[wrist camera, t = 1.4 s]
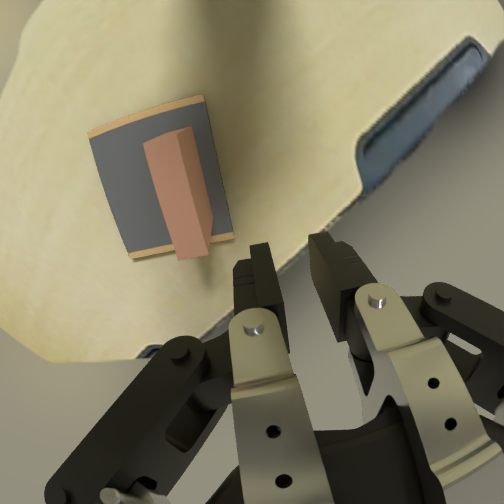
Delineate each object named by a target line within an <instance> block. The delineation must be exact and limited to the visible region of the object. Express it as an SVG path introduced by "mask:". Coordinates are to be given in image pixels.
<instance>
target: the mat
mask: <svg viewBox="0 0 504 504" xmlns="http://www.w3.org/2000/svg"><path fill="white" fill-rule="evenodd" d="M191 126H192V129H193V133H194V138H195V142H196V147H197V151H198V155H199V160H200V164H201V168H202V172H203V177H204V181H205V185H206V189H207V193H208V197H209V201H210V205H211V210H212V214H213V223H212V231H211V238H210V243H213V242H218V241H223V240H229V239H234V233H233V228H232V224H231V219H230V215H229V210H228V206H227V201H226V197H225V192H224V188H223V183H222V179H221V174H220V170H219V165H218V160H217V156H216V151H215V146H214V142H213V137H212V132H211V128H210V123H209V118H208V113H207V108H206V104H205V99H204V94H200V95H196V96H192V97H188V98H184V99H180V100H177V101H173V102H169V103H166V104H163V105H159V106H156V107H153V108H150V109H147V110H144V111H141V112H138V113H135V114H132V115H129V116H126V117H124V118H121V119H118V120H116V121H113V122H110V123H108V124H106V125H103V126H101V127H98V128H96V129H94V130H91V131H89V132H87V134H88V137H89V141H90V144H91V148H92V152H93V155H94V159H95V162H96V166H97V169H98V172H99V175H100V179H101V182H102V185H103V188H104V191H105V194H106V197H107V200H108V203H109V205H110V208H111V211H112V214H113V216H114V219H115V222H116V224H117V227H118V230H119V232H120V235H121V237H122V240H123V242H124V245H125V247H126V250H127V252H128V255H129V257H130V259H133V258H138V257H143V256H148V255H153V254H158V253H163V252H167V251H172V250H175V249H174V246H173V243H172V240H171V237H170V234H169V231H168V228H167V225H166V222H165V219H164V216H163V213H162V209H161V206H160V203H159V200H158V196H157V193H156V190H155V186H154V183H153V179H152V176H151V172H150V169H149V165H148V162H147V158H146V154H145V150H144V147H143V143H145V142H147V141H149V140H152V139H154V138H156V137H158V136H161V135H163V134H165V133H168V132H171V131H175V130H179V129H183V128H187V127H191Z"/></svg>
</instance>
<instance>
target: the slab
mask: <svg viewBox="0 0 504 504" xmlns="http://www.w3.org/2000/svg"><path fill="white" fill-rule="evenodd" d="M143 147H144V150H145V154H146V158H147V162H148V165H149V169H150V172H151V176H152V179H153V183H154V186H155V190H156V193H157V196H158V200H159V203H160V206H161V209H162V213H163V216H164V219H165V222H166V225H167V228H168V231H169V234H170V237H171V240H172V243H173V246H174V249H175V252H176V255H177V257H178V260H185V259H190V258H195V257H200V256H206V255H208V254H209V246H210V238H211V231H212V223H213V214H212V210H211V205H210V201H209V197H208V193H207V189H206V185H205V181H204V177H203V172H202V168H201V164H200V160H199V155H198V151H197V147H196V142H195V138H194V133H193V129H192V126H191V127H187V128H183V129H179V130H175V131H171V132H168V133H165V134H163V135H161V136H158V137H156V138H154V139H152V140H149V141H147V142H145V143H143Z"/></svg>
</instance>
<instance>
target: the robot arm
mask: <svg viewBox="0 0 504 504" xmlns="http://www.w3.org/2000/svg"><path fill="white" fill-rule="evenodd" d="M308 243H309V257H310V270H311V276H312V280H313V283H314V286H315V288H316V290H317V293H318V295H319V297H320V300H321V302H322V305H323V307H324V310H325V312H326V315H327V317H328V319H329V322H330V325H331V327H332V330H333V332H334V335H335V337H336V340H337V342H342V341H346V340H347V342H348V345H349V353H348V357H349V361H350V364H351V367H352V370H353V374H354V377H355V380H356V383H357V387H358V390H359V394H360V397H361V401H362V418H363V426H361V427H359V428H356V429H351V430H328V431H327V430H326V431H313V428H312V424H311V421H310V418H309V414H308V411H307V407H306V405H305V401H304V397H303V394H302V391H301V387H300V384H299V381H298V378H297V376H296V374H294V373H293V369H292V366H291V363H290V359H289V356H288V354H289V353H290V350H289V341H288V333H287V325H286V317H285V310H284V302H283V298H282V294H281V290H280V286H279V282H278V278H277V275H276V271H275V267H274V263H273V259H272V255H271V252H270V248H269V244H268V242H266V243H260V244H255V245H250V254H251V258H250V259H244V260H239V261H238V262H237V263H236V265H235V267H234V268H233V286H234V288H233V290H234V318H233V319H232V320H231V322H230V324H229V329H228V330H227V331H226V332H225V333H223V334H222V335H220V336H219V337H216V338H214V339H212V340H209V341H207V342H204V343H202V342H201V341H200V340H199V339H197V338H195V337H192V336H179V337H176V338H173V339H171V340H169V341H168V342H166V343H165V344H164V345H163V346H162V347H161V348H160V350H159V351H158V352H157V353H156V354H155V355H154V357H153V358H152V359H151V360H150V361H149V362H148V364H147V365H146V366H145V367H144V368H143V370H142V371H141V372H140V373H139V374H138V375H137V376H136V378H135V379H134V380H133V381H132V382H131V384H130V385H129V386H128V387H127V388H126V390H124V392H123V393H122V394H121V395H120V396H119V398H118V399H117V400H116V401H115V402H114V404H113V405H112V406H111V407H110V408H109V409H108V411H107V412H106V413H105V414H104V415H103V417H102V418H101V419H100V420H99V421H98V422H97V424H96V425H95V426H94V427H93V428H92V430H91V431H90V432H89V433H88V434H87V436H86V437H85V438H84V439H83V440H82V441H81V443H80V444H79V445H78V446H77V447H76V449H75V450H74V451H73V452H72V453H71V455H70V456H69V457H68V458H67V459H66V460H65V462H64V463H63V464H62V465H61V467H60V468H59V469H58V470H57V471H56V473H55V474H54V475H53V476H52V477H51V479H50V480H49V481H48V482H47V484H46V487H45V492H44V497H45V502H46V504H170V502H169V500H168V499H167V498H166V496H167V495H168V494H169V492H170V491H171V490H172V488H173V487H174V485H175V484H176V483H177V481H178V480H179V479H180V477H181V476H182V474H183V473H184V472H185V470H186V469H187V467H188V466H189V464H190V463H191V461H192V460H193V459H194V457H195V456H196V454H197V453H198V451H199V450H200V448H201V447H202V445H203V444H204V442H205V441H206V439H207V438H208V436H209V435H210V433H211V432H212V430H213V429H214V427H215V426H216V424H217V423H218V421H219V419H220V418H221V416H222V415H223V413H224V412H225V410H226V408H227V406H228V404H230V403H232V411H233V420H234V429H235V436H236V445H237V453H238V461H239V465H238V466H237V467H236V468H235V469H234V470H233V471H232V472H231V473H230V474H229V476H228V477H227V478H226V479H225V480H224V482H223V483H222V484H221V485H220V487H219V488H218V489H217V490H216V492H215V493H214V494H213V495H212V496H211V498H210V499H209V500H208V501H207V502H206V503H205V504H504V312H503V311H502V310H500V309H498V308H496V307H494V306H492V305H490V304H488V303H486V302H484V301H482V300H480V299H478V298H476V297H474V296H472V295H470V294H468V293H466V292H464V291H462V290H460V289H458V288H456V287H454V286H452V285H450V284H447V283H443V282H435V283H431V284H429V285H428V286H427V287H426V288H425V289H424V292H423V296H416V297H415V296H413V297H412V296H410V297H404V296H399V294H398V293H397V292H396V290H394V289H393V288H392V287H390V286H388V285H385V284H381V283H378V282H377V280H376V279H375V278H374V276H373V275H372V273H371V272H370V270H369V269H368V268H367V266H366V265H365V264H364V262H362V260H361V258H360V257H359V256H358V254H357V253H356V251H355V250H354V249H353V247H352V246H350V245H348V244H346V243H345V242H343V241H340V242H335V241H334V240H333V239H332V237H331V236H330V234H329V233H328V232H327V231H326V232H320V233H315V234H309V236H308ZM450 333H452V334H454V335H456V336H458V337H459V338H461V339H463V340H465V341H466V342H468V343H470V344H472V345H474V346H475V347H477V348H479V349H480V350H481V351H482V353H480V354H478V355H474V354H471V353H469V352H468V351H466V350H464V349H462V348H460V347H459V346H457V345H455V344H454V343H452V342H450V341H448V340H447V339H448V337H449V334H450ZM473 402H474V403H475V404H477V405H479V406H480V407H482V408H483V409H485V410H487V411H489V412H490V413H492V414H493V415H495V417H494V419H493V421H492V420H490V419H488V418H486V417H484V416H482V415H479V414H478V412H477V409H476V407H475V405H474V403H473Z"/></svg>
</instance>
